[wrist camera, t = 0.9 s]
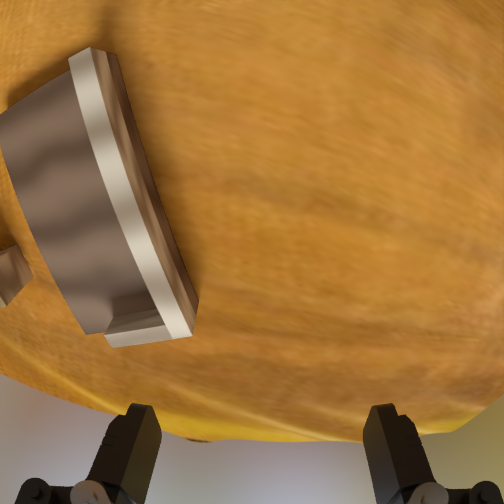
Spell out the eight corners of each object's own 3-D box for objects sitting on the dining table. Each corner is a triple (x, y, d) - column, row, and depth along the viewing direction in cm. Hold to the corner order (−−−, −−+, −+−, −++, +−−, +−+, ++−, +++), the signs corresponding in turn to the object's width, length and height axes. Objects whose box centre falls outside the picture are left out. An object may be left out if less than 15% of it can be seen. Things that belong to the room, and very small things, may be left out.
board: (7, 116, 23) (-26, 124, 18) (116, 55, 22) (89, 46, 17) (93, 321, 34) (76, 352, 29) (198, 301, 33) (192, 335, 28)
